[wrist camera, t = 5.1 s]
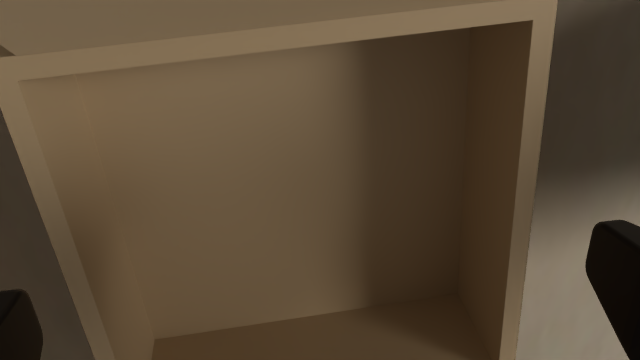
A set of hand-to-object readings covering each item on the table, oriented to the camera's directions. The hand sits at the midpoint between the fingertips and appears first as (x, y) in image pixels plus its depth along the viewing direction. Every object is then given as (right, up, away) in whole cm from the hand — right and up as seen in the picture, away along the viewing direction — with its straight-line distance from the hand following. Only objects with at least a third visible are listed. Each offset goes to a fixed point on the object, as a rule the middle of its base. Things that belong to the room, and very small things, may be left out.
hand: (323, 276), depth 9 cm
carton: (-1, +2, +13) cm, 13 cm away
